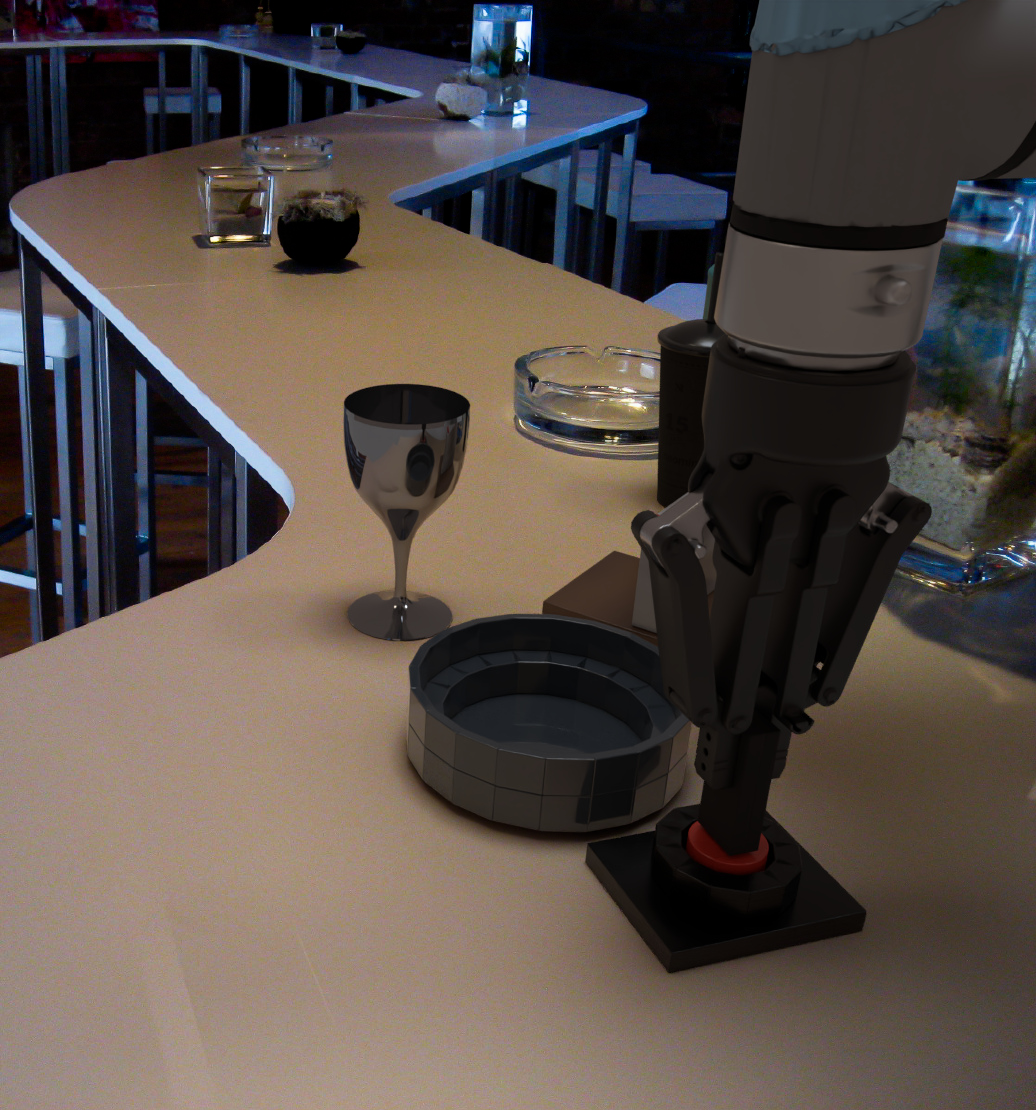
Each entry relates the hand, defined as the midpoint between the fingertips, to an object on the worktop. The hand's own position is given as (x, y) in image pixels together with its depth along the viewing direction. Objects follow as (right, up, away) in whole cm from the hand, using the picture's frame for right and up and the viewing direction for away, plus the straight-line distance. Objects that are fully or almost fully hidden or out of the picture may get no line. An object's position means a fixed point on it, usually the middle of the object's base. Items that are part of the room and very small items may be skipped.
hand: (727, 835), depth 60 cm
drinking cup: (+12, +17, +45) cm, 49 cm away
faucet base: (+4, +8, +24) cm, 26 cm away
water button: (0, -2, +1) cm, 2 cm away
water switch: (0, -3, +2) cm, 4 cm away
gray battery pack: (+4, +10, +23) cm, 26 cm away
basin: (-6, +2, +12) cm, 14 cm away
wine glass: (-13, +9, +27) cm, 32 cm away
